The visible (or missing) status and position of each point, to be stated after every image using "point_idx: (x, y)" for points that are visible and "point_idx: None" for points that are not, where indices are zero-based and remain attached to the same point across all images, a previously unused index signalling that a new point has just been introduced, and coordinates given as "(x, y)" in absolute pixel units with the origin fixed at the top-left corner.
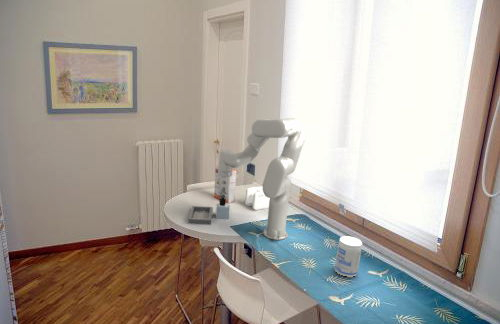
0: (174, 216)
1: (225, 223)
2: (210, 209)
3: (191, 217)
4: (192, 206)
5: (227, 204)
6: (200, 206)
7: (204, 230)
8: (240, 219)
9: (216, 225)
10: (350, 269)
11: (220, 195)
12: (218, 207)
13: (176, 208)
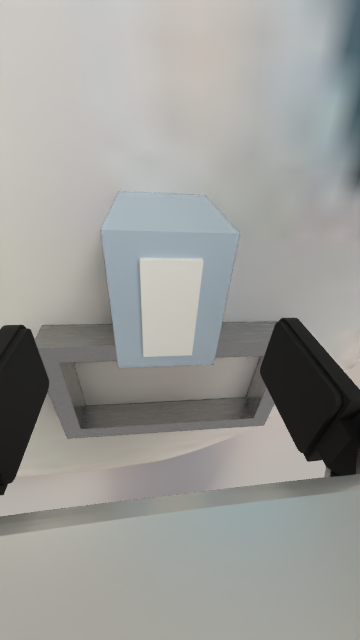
0: (175, 446)
1: (289, 228)
2: (96, 357)
3: (245, 419)
4: (76, 435)
5: (106, 260)
6: (58, 408)
7: (355, 343)
8: (204, 26)
9: (309, 290)
10: None
11: (28, 434)
12: (215, 348)
13: (77, 456)
